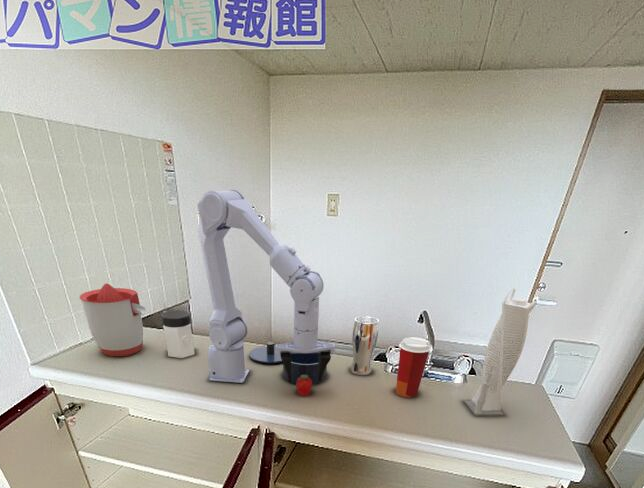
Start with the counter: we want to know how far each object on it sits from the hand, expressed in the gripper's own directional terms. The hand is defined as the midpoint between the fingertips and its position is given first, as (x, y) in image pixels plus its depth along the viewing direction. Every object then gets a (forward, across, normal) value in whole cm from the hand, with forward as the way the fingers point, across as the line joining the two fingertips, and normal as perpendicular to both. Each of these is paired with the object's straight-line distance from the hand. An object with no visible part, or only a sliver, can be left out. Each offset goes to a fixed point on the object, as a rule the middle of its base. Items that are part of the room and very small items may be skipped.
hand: (304, 379), depth 104 cm
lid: (+3, +8, -25) cm, 26 cm away
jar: (+4, +36, -29) cm, 46 cm away
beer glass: (+4, -18, -13) cm, 23 cm away
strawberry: (+4, 0, 0) cm, 4 cm away
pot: (+4, -1, -10) cm, 11 cm away
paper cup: (+4, -27, +2) cm, 28 cm away
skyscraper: (+4, -45, +11) cm, 46 cm away
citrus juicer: (+4, +53, -32) cm, 62 cm away
